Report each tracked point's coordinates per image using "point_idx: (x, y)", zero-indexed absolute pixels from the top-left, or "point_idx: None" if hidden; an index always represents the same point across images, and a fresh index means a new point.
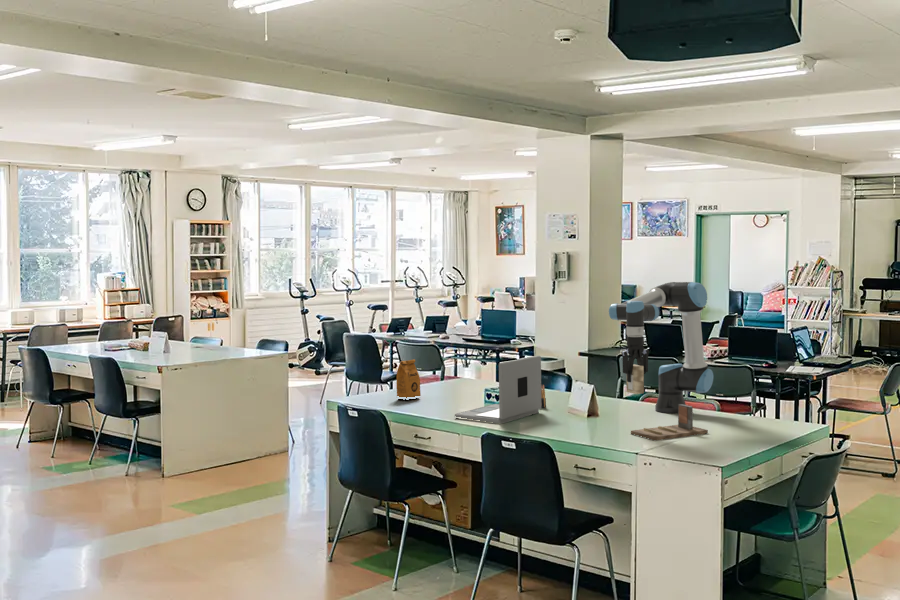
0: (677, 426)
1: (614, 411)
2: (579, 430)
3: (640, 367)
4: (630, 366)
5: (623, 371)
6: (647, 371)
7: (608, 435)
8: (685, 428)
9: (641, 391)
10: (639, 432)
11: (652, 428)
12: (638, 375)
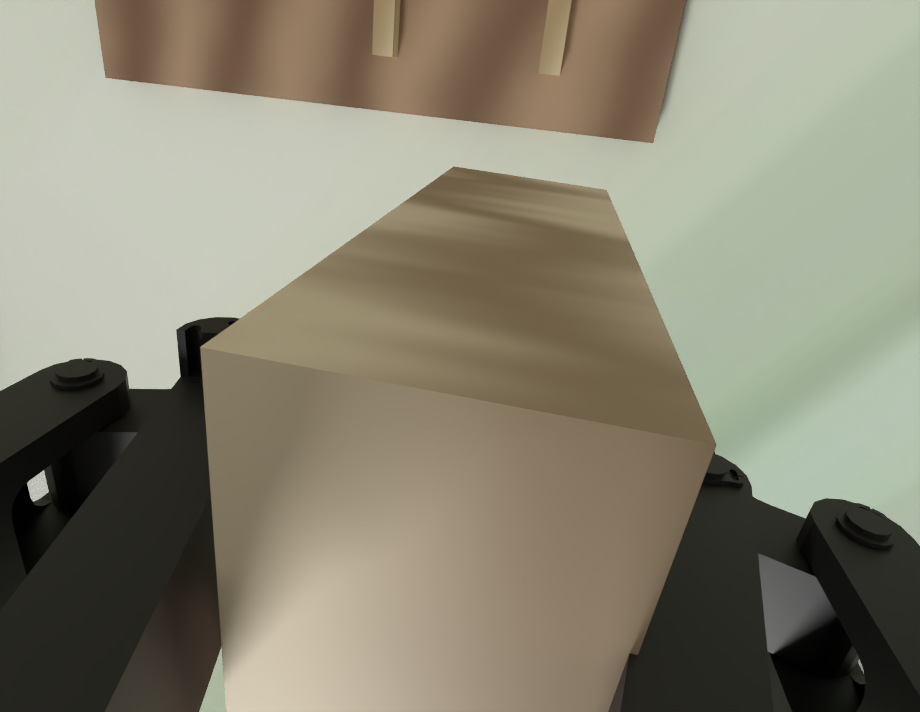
0: (201, 21)
1: (213, 669)
2: (812, 478)
3: (420, 354)
4: (766, 685)
5: (855, 662)
6: (74, 361)
7: (830, 219)
8: None
9: (492, 179)
10: (665, 22)
11: (434, 94)
12: (555, 265)
